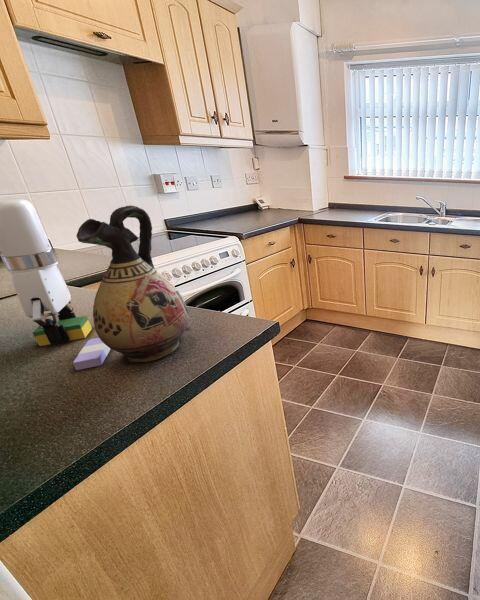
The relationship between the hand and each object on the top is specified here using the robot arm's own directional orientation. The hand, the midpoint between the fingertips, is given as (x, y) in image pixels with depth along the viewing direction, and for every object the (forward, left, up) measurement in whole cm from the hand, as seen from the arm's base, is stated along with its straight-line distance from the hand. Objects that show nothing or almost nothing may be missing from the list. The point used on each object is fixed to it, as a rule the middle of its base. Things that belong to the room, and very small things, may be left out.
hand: (66, 334), depth 78 cm
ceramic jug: (+20, -16, -1) cm, 26 cm away
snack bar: (+8, -13, -1) cm, 16 cm away
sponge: (0, 0, -1) cm, 1 cm away
